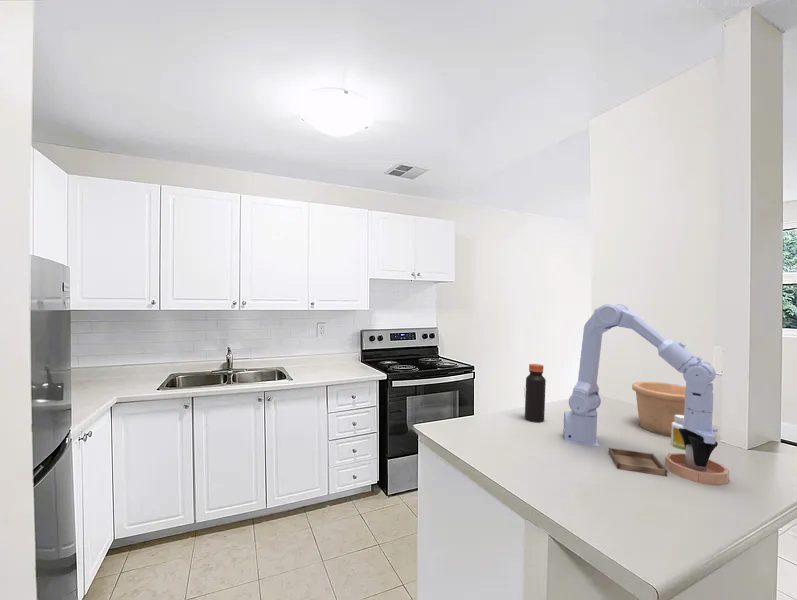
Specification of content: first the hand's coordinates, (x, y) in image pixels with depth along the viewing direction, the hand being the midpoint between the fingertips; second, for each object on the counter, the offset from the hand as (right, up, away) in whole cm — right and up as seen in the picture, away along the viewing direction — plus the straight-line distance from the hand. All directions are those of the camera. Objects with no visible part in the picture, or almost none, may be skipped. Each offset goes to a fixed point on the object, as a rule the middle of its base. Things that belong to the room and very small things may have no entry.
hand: (696, 461), depth 99 cm
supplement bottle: (+9, -4, +18) cm, 21 cm away
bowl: (0, -3, 0) cm, 3 cm away
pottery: (+17, -4, +35) cm, 40 cm away
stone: (0, -1, 0) cm, 1 cm away
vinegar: (-27, -2, +41) cm, 50 cm away
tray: (-13, -3, +4) cm, 14 cm away
